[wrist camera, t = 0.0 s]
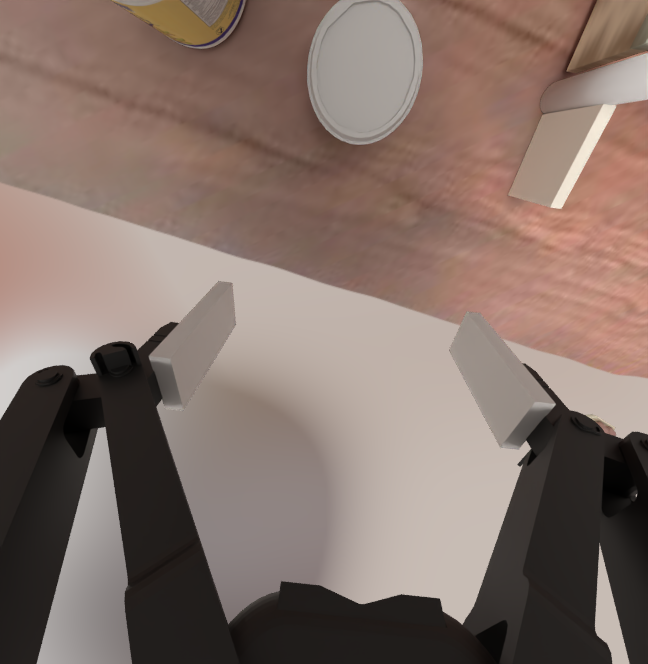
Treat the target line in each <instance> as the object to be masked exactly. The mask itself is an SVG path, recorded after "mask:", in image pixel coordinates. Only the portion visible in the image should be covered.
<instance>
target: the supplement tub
mask: <svg viewBox="0 0 648 664" xmlns="http://www.w3.org/2000/svg"><path fill="white" fill-rule="evenodd" d="M111 1H113V2H114V3H116V4H117V5H119V6H121V7H122V8H124V9H125V10H127V11H128V12H130V13H132V14H133V15H135V16H136V17H138V18H139V19H141V20H142V21H144V22H146V23H147V24H149V25H150V26H152V27H153V28H155V29H157V30H158V31H160V32H161V33H163V34H164V35H166V36H167V37H168V38H170V39H171V40H173V41H175V42H177V43H179V44H181V45H183V46H186V47H190V48H199V49H204V48H210V47H214V46H216V45H218V44H220V43H221V42H223V41H224V40H225V39H226V38H227V37H228V36H229V35H230V34H231V33H232V32H233V30H234V29H235V27H236V26H237V24H238V22H239V20H240V18H241V15H242V12H243V9H244V6H245V2H246V0H111Z"/></svg>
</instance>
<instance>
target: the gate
mask: <svg viewBox="0 0 648 664" xmlns="http://www.w3.org/2000/svg"><path fill="white" fill-rule="evenodd" d="M645 51H648V0H597V2H596V4H595V7H594V9H593V11H592V14H591V16H590V18H589V21H588V23H587V25H586V27H585V30H584V32H583V34H582V37H581V39H580V41H579V43H578V46H577V48H576V50H575V53H574V55H573V57H572V59H571V62H570V64H569V66H568V69H567V71H566V72H573V73H579V72H582V71H585V70H589V69H592V68H595V67H598V66H601V65H604V64H607V63H610V62H613V61H617V60H620V59H623V58H626V57H629V56H632V55H635V54H638V53H642V52H645Z"/></svg>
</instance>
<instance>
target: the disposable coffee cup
mask: <svg viewBox="0 0 648 664" xmlns="http://www.w3.org/2000/svg"><path fill="white" fill-rule="evenodd" d="M422 68H423V55H422V43H421V39H420V35H419V32H418V28H417V26H416V24H415V22H414V19H413V17H412V15H411V14H410V12H409V11H408V10H407V9H406V7H405V6H404V5H403V4H402V2H400V1H399V0H340V1H339V2H337V3H336V4H335V5H334V6H333V7H332V8H331V9H330V10H329V12H328V13H327V14H326V15H325V17H324V18H323V19H322V21H321V23H320V25H319V26H318V28H317V31H316V33H315V35H314V38H313V41H312V44H311V47H310V51H309V57H308V65H307V84H308V90H309V96H310V100H311V103H312V106H313V109H314V111H315V113H316V115H317V117H318V119H319V121H320V122H321V123H322V125H323V126H324V127H325V128H326V130H327V131H329V132H330V133H331V134H332V135H333V136H334V137H336V138H338V139H339V140H341V141H344V142H347V143H349V144H356V145H365V144H370V143H374V142H376V141H379V140H381V139H383V138H385V137H386V136H388V135H389V134H390V133H392V132H393V131H394V130H395V129H396V128H397V127H398V126H399V125H400V124H401V123H402V121H403V120H404V119H405V117H406V116H407V114H408V113H409V111H410V109H411V107H412V105H413V104H414V101H415V99H416V96H417V93H418V91H419V86H420V82H421V78H422Z"/></svg>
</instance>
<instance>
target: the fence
mask: <svg viewBox="0 0 648 664" xmlns="http://www.w3.org/2000/svg"><path fill="white" fill-rule="evenodd" d="M647 99H648V53H646V54H642V55H639V56H636V57H633V58H630V59H627V60H623V61H620V62H617V63H614V64H611V65H607V66H604V67H601V68H598V69H595V70H591V71H588V72H585V73H582V74H579V75H575V76H572V77H569V78H566V79H563V80H559V81H556V82H554V83H553V84H551V85H550V86H549V87H548V88H547V89H546V90H545V92H544V93H543V95H542V98H541V101H540V109H541V111H542V112H543V113H544V114H542V117H541V119H540V121H539V124H538V126H537V128H536V131H535V133H534V135H533V138H532V140H531V142H530V145H529V147H528V149H527V152H526V154H525V156H524V159H523V161H522V163H521V166H520V168H519V170H518V173H517V175H516V177H515V180H514V182H513V184H512V187H511V189H510V191H509V194H508V196H512V197H515V198H519V199H522V200H526V201H529V202H533V203H536V204H540V205H544V206H547V207H551V208H559V209H561V208H562V206H563V205H564V203H565V201H566V199H567V197H568V195H569V193H570V192H571V190H572V188H573V186H574V184H575V182H576V180H577V179H578V177H579V175H580V173H581V171H582V169H583V167H584V166H585V164H586V162H587V160H588V158H589V156H590V154H591V153H592V151H593V149H594V147H595V145H596V143H597V142H598V140H599V138H600V136H601V134H602V132H603V130H604V129H605V127H606V125H607V123H608V121H609V119H610V117H611V116H612V114H613V112H614V110H615V108H616V106H615V105H616V104H623V103H629V102H635V101H641V100H647Z"/></svg>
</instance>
